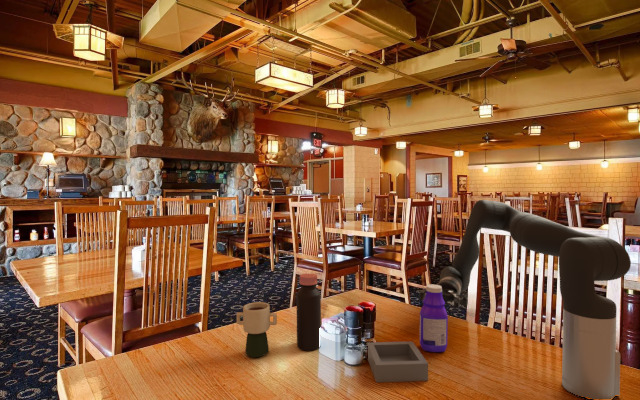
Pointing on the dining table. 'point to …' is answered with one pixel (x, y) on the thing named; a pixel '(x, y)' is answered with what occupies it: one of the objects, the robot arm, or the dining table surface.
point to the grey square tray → (397, 362)
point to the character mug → (256, 327)
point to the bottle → (433, 320)
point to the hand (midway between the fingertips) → (440, 303)
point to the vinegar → (308, 313)
